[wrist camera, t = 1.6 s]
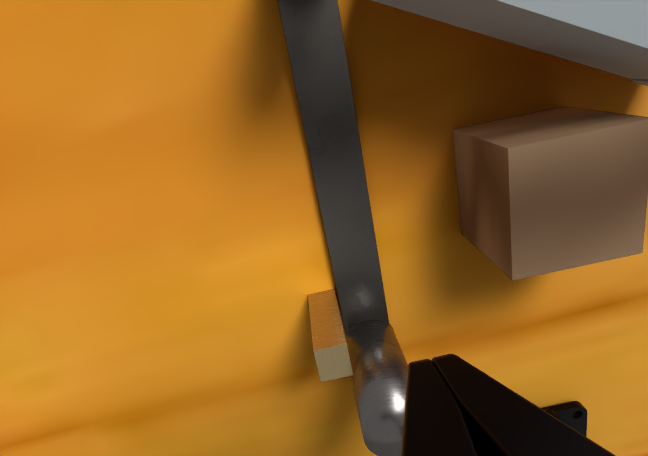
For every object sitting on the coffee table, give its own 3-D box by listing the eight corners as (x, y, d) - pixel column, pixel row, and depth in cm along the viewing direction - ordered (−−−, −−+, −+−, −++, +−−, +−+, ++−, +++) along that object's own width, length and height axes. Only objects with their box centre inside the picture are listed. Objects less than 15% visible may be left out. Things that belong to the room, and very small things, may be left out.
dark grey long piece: (222, -71, 14) (185, -155, 9) (327, -92, 14) (352, -188, 9) (325, 369, 20) (338, 471, 15) (397, 353, 20) (435, 450, 15)
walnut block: (561, 211, 19) (642, 252, 14) (460, 232, 18) (512, 280, 14) (562, 106, 17) (654, 117, 13) (452, 129, 17) (507, 148, 13)
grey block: (353, -3, 14) (383, -38, 10) (366, -58, 14) (405, -119, 9) (657, 88, 16) (797, 94, 12) (678, 44, 16) (833, 33, 11)
